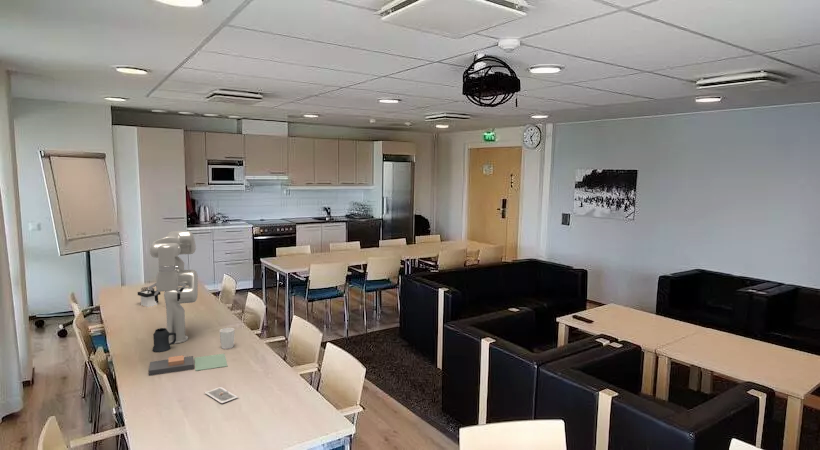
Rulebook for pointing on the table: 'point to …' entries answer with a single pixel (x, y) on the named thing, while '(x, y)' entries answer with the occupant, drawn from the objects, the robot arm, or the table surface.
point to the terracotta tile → (176, 360)
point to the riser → (163, 367)
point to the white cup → (227, 338)
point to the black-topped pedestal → (147, 297)
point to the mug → (162, 340)
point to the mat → (210, 362)
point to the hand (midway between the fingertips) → (167, 301)
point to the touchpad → (221, 395)
